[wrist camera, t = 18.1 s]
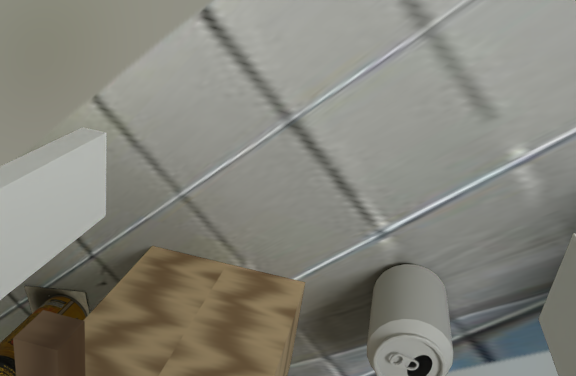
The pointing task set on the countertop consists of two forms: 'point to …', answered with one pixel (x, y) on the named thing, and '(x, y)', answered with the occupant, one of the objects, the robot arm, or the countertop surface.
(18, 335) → the frame bar
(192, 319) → the notch post
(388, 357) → the can
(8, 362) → the condiment
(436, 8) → the countertop surface
